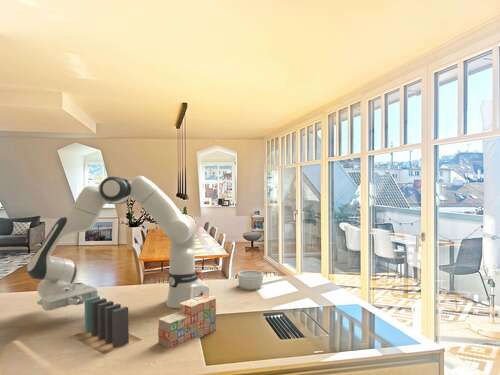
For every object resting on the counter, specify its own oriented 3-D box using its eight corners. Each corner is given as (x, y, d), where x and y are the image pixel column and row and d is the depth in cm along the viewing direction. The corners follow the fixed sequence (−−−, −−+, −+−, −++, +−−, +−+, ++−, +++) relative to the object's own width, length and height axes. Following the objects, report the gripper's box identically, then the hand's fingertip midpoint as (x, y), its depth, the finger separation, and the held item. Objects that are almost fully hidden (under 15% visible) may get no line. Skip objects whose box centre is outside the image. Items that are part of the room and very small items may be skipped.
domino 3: (111, 334, 137) (111, 300, 136) (113, 335, 136) (113, 301, 135) (98, 339, 133) (97, 304, 132) (100, 340, 132) (100, 305, 131)
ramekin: (254, 292, 189) (254, 278, 189) (232, 287, 196) (232, 274, 196) (268, 285, 200) (268, 272, 200) (246, 281, 207) (246, 268, 207)
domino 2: (104, 331, 140) (104, 298, 139) (107, 332, 139) (106, 299, 138) (91, 335, 136) (90, 301, 135) (93, 336, 135) (93, 302, 134)
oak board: (107, 326, 147) (107, 323, 147) (142, 342, 133) (142, 339, 133) (70, 338, 136) (70, 335, 136) (104, 357, 122) (104, 354, 122)
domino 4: (118, 338, 134) (118, 303, 133) (121, 339, 133) (120, 304, 132) (105, 342, 130) (104, 307, 130) (107, 344, 129) (107, 308, 129)
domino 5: (126, 341, 131) (125, 306, 131) (128, 342, 130) (128, 307, 130) (112, 346, 127) (112, 310, 127) (115, 348, 126) (114, 311, 126)
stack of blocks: (170, 351, 126) (169, 314, 126) (158, 346, 130) (157, 309, 130) (216, 330, 143) (216, 297, 142) (204, 326, 147) (204, 294, 146)
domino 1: (98, 328, 142) (97, 295, 142) (100, 329, 141) (99, 296, 141) (85, 332, 139) (84, 299, 138) (87, 333, 138) (86, 300, 137)
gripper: (34, 293, 146) (51, 301, 137) (87, 281, 162) (104, 287, 153) (35, 310, 146) (51, 318, 138) (87, 296, 162) (105, 303, 153)
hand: (80, 302), depth 146 cm, fingers closed
